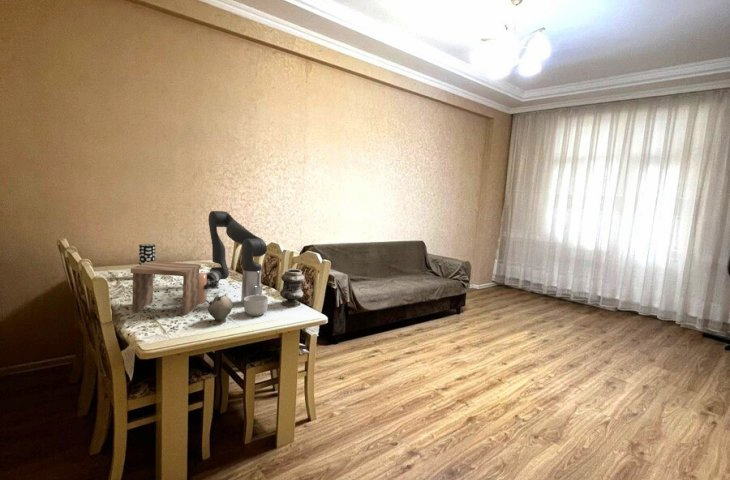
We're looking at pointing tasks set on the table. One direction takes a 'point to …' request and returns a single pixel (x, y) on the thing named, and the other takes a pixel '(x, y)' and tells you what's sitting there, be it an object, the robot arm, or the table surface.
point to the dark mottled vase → (292, 287)
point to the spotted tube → (146, 254)
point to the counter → (146, 271)
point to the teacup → (255, 304)
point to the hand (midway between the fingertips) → (198, 287)
